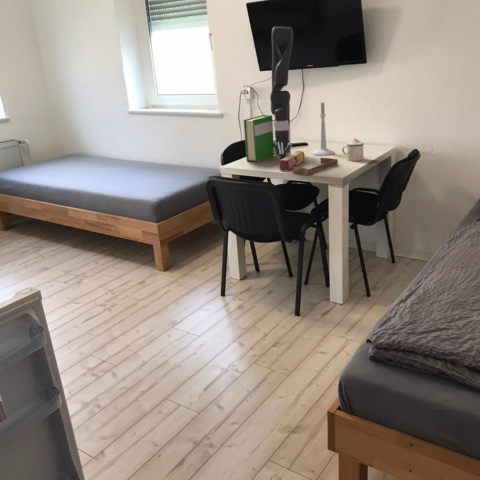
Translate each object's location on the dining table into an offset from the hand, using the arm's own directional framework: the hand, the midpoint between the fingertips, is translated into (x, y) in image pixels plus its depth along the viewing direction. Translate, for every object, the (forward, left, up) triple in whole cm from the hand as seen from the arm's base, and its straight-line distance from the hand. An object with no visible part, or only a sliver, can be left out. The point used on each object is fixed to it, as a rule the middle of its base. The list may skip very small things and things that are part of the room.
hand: (283, 160), depth 286 cm
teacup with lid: (+27, +27, -3) cm, 39 cm away
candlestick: (+3, +34, -3) cm, 35 cm away
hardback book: (-24, +8, -3) cm, 25 cm away
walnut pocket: (+21, 0, -3) cm, 21 cm away
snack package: (+6, 0, -3) cm, 7 cm away
